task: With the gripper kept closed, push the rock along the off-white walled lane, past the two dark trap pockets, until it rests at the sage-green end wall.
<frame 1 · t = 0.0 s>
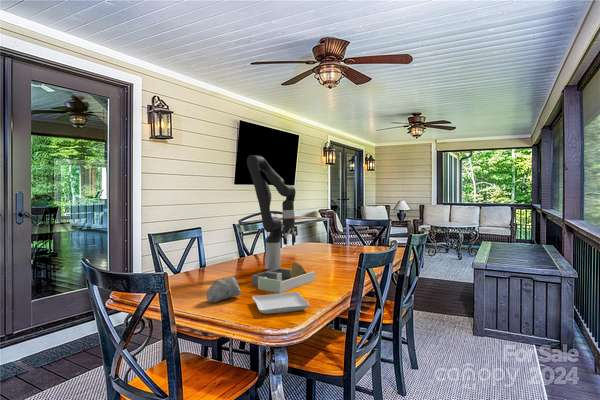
hand: (289, 243, 235), 17 cm above the table, tool pointing down, fingers open, 8 cm apart
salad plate: (279, 308, 162), on the table
rock: (299, 281, 209), on the table
gray stone: (224, 300, 174), on the table
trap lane: (288, 284, 201), on the table
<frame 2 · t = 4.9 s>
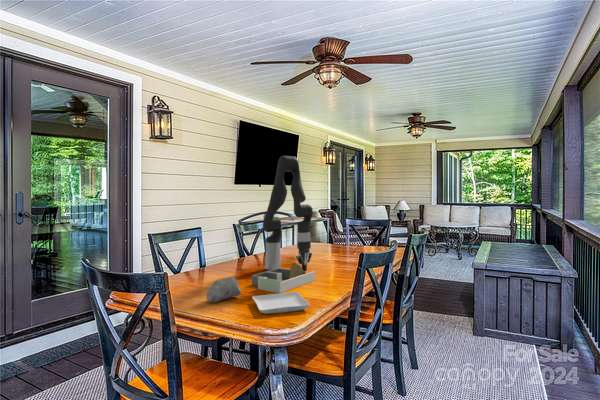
hand: (304, 271, 213), 5 cm above the table, tool pointing down, fingers closed
rock: (298, 281, 209), on the table, touching gripper
everything else where it was.
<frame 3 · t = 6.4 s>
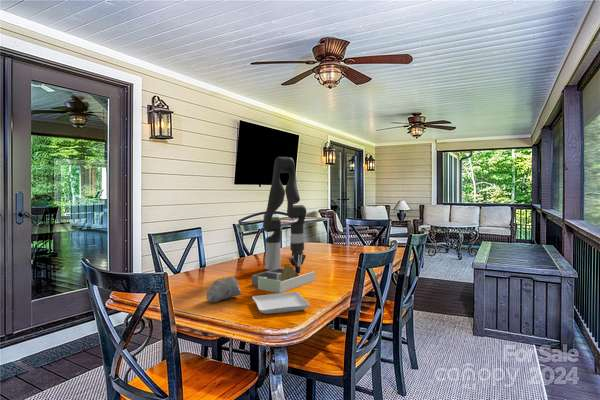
hand: (297, 273, 208), 5 cm above the table, tool pointing down, fingers closed
rock: (291, 283, 204), on the table, touching gripper
everything else where it was.
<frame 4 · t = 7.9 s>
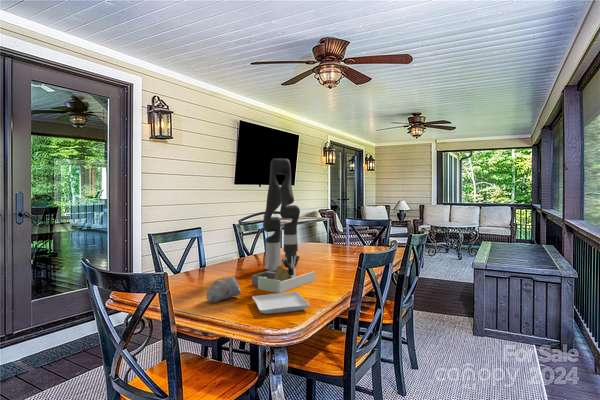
hand: (291, 275, 203), 5 cm above the table, tool pointing down, fingers closed
rock: (283, 285, 199), on the table, touching gripper
everything else where it was.
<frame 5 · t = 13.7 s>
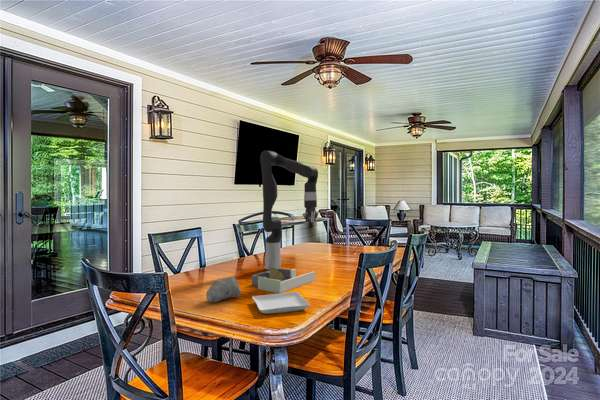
hand: (310, 228, 227), 27 cm above the table, tool pointing down, fingers closed
rock: (277, 287, 196), on the table
everything else where it was.
at the end: rock inside the target area (2.2 cm from its centre), on the table; rock tilted 0° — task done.
